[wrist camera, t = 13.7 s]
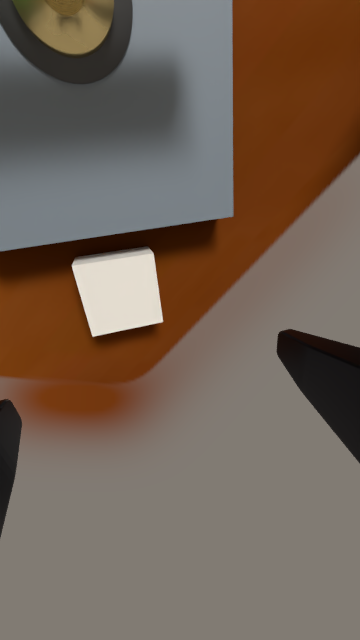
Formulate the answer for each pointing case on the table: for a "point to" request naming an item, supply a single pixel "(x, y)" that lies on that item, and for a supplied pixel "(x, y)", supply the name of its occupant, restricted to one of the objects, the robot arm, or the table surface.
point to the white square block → (118, 289)
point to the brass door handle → (68, 24)
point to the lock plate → (117, 125)
